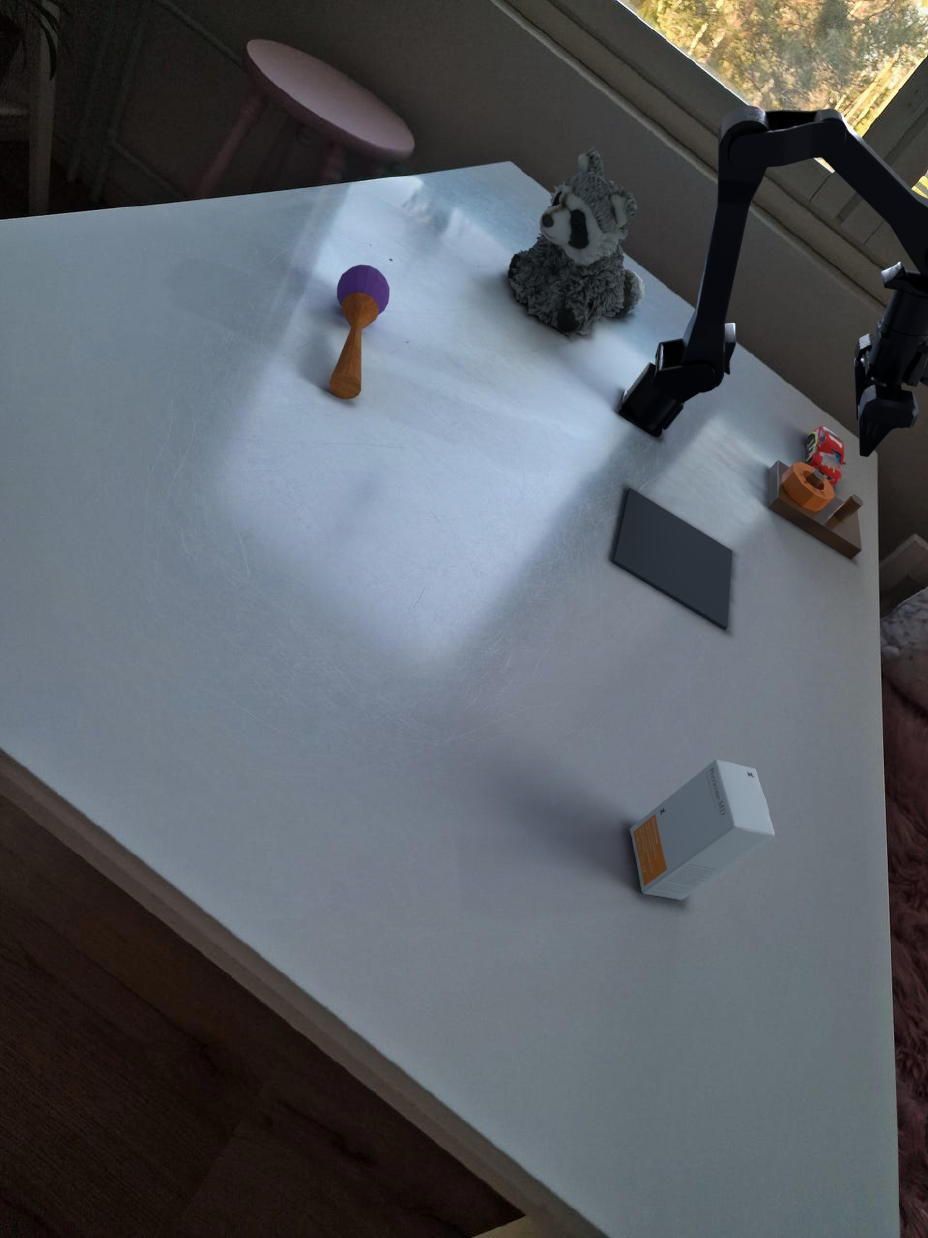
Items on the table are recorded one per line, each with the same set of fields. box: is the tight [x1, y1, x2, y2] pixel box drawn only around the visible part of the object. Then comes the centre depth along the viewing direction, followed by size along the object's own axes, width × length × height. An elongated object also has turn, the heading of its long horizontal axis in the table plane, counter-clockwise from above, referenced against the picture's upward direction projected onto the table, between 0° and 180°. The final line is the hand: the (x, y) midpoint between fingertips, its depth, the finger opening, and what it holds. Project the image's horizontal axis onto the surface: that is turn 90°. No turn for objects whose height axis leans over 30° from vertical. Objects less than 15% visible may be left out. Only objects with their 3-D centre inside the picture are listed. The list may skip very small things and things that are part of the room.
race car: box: [804, 426, 847, 487], centre depth 149 cm, size 13×5×4 cm, turn 161°
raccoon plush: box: [507, 146, 646, 337], centre depth 138 cm, size 15×32×21 cm, turn 145°
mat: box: [612, 487, 733, 630], centre depth 115 cm, size 15×15×1 cm
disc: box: [782, 461, 835, 512], centre depth 136 cm, size 7×7×2 cm
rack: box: [767, 459, 864, 560], centre depth 137 cm, size 14×10×6 cm
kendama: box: [328, 264, 391, 400], centre depth 108 cm, size 6×6×20 cm
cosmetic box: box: [629, 759, 776, 901], centre depth 79 cm, size 6×4×12 cm
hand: (862, 437), depth 129 cm, fingers open, 9 cm apart
